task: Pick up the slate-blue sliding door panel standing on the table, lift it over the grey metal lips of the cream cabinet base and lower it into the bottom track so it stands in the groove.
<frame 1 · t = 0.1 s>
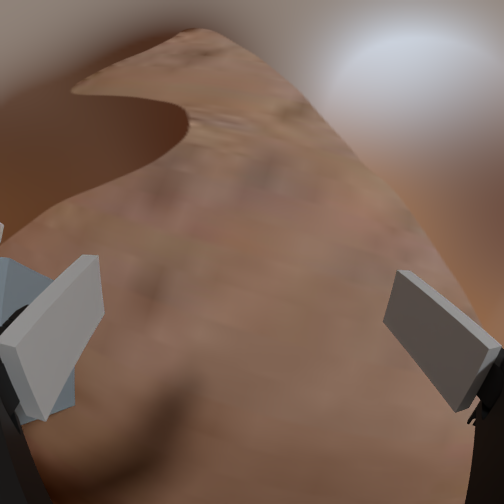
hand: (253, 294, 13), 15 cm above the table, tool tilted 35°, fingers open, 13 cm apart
sliding door panel: (59, 346, 25), on the table
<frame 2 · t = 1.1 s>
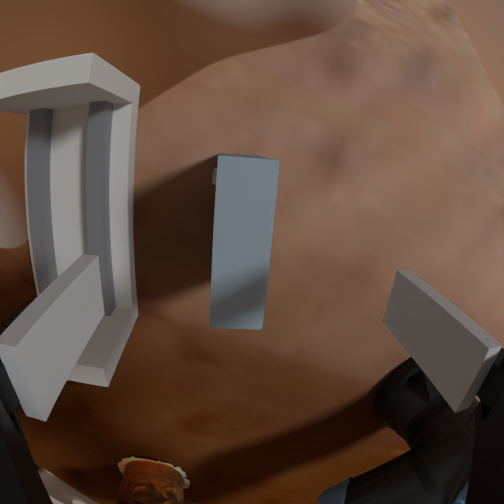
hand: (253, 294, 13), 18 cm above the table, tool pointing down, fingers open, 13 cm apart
sliding door panel: (234, 211, 30), on the table
door track: (80, 206, 28), on the table
vessel: (155, 474, 44), on the table
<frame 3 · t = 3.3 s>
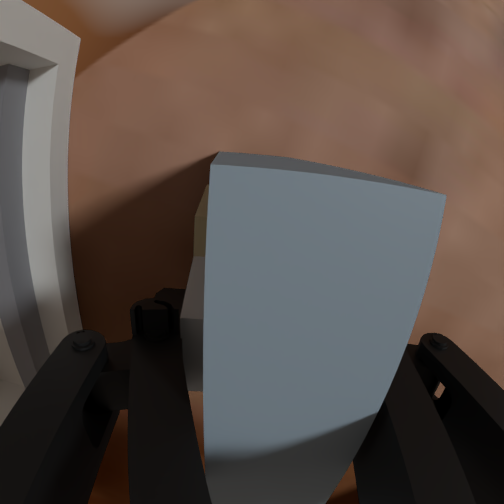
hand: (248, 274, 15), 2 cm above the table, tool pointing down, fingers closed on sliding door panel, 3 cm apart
sliding door panel: (245, 258, 17), on the table, touching gripper
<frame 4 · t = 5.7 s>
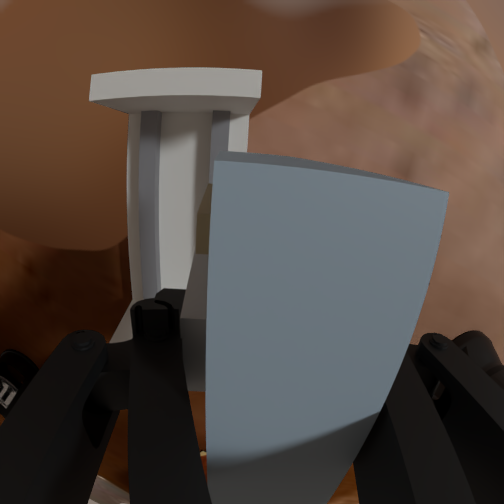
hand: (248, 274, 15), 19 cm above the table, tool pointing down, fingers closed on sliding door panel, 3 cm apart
french press: (20, 371, 39), on the table
sliding door panel: (246, 257, 17), point 17 cm above the table, touching gripper
door track: (185, 208, 33), on the table
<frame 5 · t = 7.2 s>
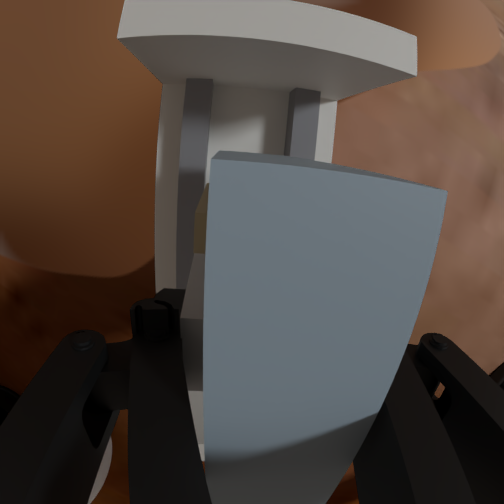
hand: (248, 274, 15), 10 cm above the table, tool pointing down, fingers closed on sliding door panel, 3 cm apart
french press: (12, 409, 29), on the table
sliding door panel: (245, 257, 17), point 7 cm above the table, touching gripper
white air blower bulb: (90, 411, 30), on the table
door track: (238, 224, 24), on the table
when the fingers open (6 cm above the table, at t = 8.3 s): sliding door panel drops 1 cm, resting on door track.
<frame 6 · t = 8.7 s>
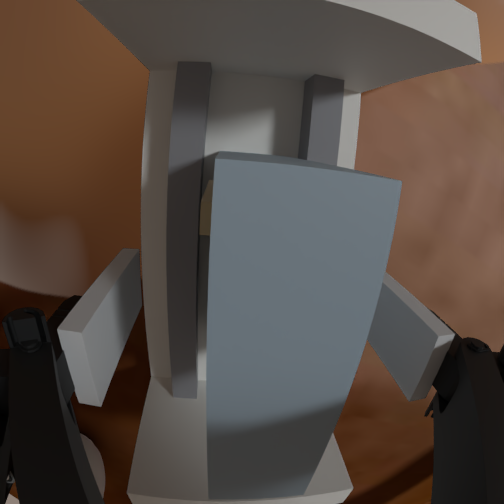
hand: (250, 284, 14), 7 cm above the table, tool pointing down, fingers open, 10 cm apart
french press: (1, 428, 25), on the table
sliding door panel: (244, 249, 18), point 2 cm above the table, touching door track
white air blower bulb: (81, 436, 26), on the table
door track: (241, 239, 20), on the table
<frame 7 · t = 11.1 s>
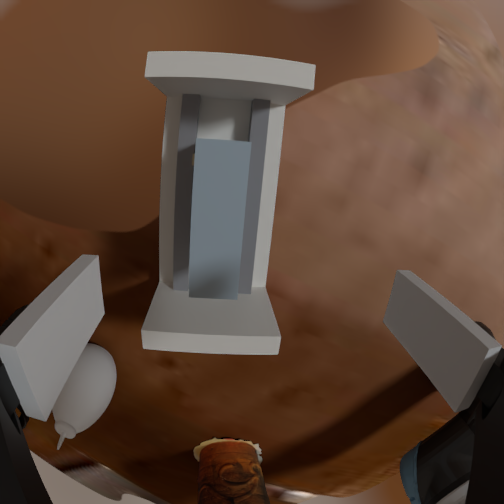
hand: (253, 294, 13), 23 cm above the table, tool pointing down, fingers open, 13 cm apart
sliding door panel: (218, 194, 32), point 2 cm above the table, touching door track
white air blower bulb: (99, 351, 39), on the table
door track: (217, 192, 34), on the table
vessel: (229, 454, 50), on the table
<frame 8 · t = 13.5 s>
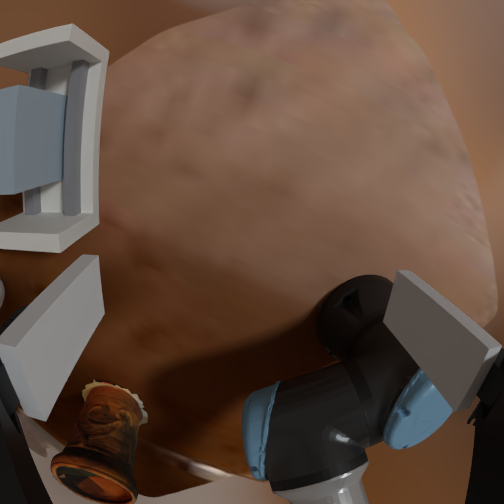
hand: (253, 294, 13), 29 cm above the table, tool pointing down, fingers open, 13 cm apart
sliding door panel: (55, 138, 33), point 2 cm above the table, touching door track
door track: (62, 138, 35), on the table
vessel: (115, 404, 51), on the table
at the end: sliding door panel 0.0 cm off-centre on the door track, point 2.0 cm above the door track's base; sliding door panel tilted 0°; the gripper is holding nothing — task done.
